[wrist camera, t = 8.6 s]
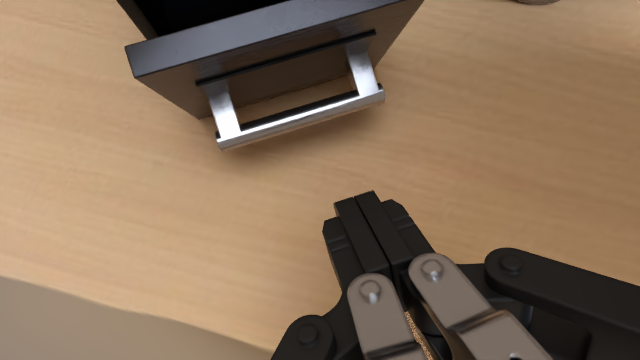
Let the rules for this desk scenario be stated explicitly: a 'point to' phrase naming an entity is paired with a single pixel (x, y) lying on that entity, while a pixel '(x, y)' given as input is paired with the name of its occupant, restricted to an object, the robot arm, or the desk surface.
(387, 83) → the desk surface
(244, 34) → the oven door
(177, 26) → the oven
